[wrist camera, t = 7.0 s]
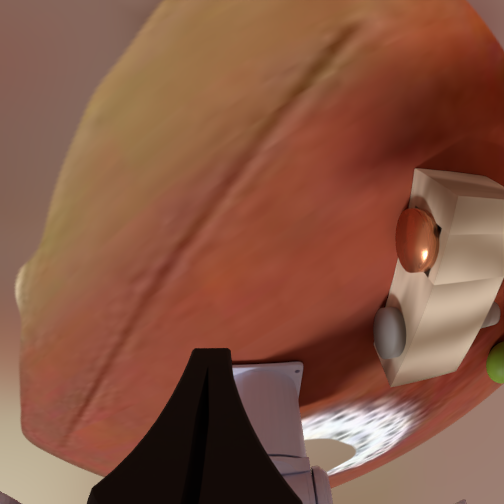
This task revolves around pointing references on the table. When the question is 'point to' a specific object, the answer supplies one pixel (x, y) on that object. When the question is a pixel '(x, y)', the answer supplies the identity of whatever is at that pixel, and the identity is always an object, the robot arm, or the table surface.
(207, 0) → the table surface
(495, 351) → the snail figurine
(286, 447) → the robot arm
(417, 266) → the lynch pin
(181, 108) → the table surface
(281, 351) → the table surface
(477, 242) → the beige block with pegs
